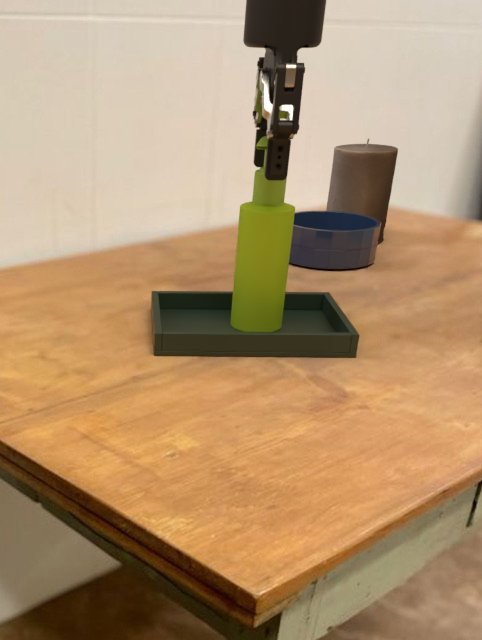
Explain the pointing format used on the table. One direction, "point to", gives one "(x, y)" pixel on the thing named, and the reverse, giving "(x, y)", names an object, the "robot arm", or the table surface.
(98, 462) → the table surface
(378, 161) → the pillar candle
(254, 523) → the table surface
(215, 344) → the tray
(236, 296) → the soap dispenser
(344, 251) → the bowl
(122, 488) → the table surface
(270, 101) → the robot arm
